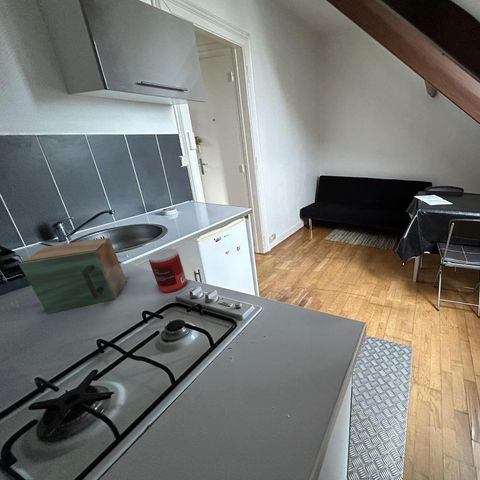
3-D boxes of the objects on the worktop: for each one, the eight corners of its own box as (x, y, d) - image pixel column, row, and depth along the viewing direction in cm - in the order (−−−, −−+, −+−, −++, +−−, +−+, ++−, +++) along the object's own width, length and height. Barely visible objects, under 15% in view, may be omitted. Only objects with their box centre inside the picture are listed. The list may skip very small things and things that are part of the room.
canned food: (182, 277, 85) (172, 246, 81) (191, 285, 80) (181, 253, 76) (156, 286, 80) (144, 254, 76) (163, 296, 75) (152, 263, 71)
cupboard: (116, 298, 76) (95, 249, 70) (49, 312, 71) (21, 261, 65) (127, 281, 84) (109, 237, 78) (68, 293, 80) (44, 247, 74)
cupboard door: (109, 307, 71) (86, 258, 65) (37, 323, 67) (6, 271, 61) (115, 298, 76) (95, 250, 70) (48, 312, 71) (20, 262, 65)
